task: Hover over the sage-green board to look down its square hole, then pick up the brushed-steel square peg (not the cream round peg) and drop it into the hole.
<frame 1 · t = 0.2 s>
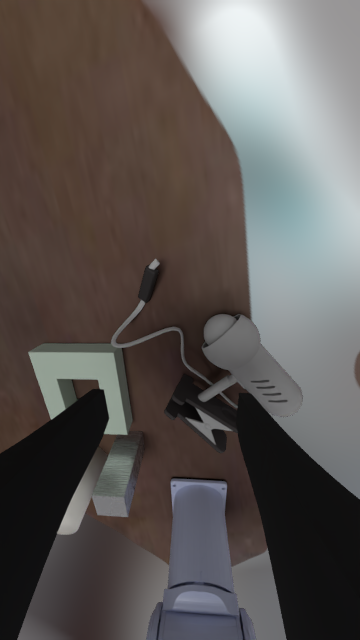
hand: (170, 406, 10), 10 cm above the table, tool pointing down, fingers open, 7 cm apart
clip-on lamp: (196, 345, 20), on the table
cream round peg: (90, 455, 26), on the table
socket board: (90, 384, 22), on the table
steel square peg: (132, 439, 25), on the table
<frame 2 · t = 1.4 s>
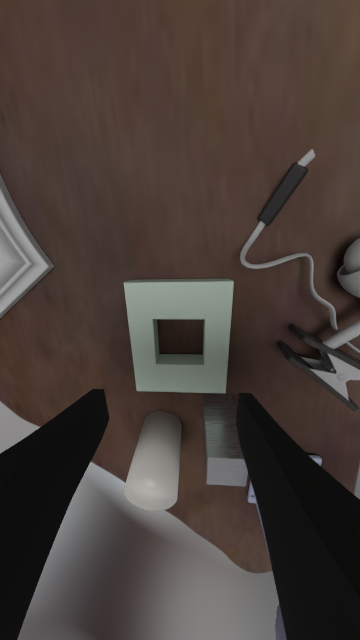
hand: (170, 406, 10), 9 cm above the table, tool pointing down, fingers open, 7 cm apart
clip-on lamp: (312, 286, 17), on the table
cream round peg: (162, 425, 23), on the table
socket board: (180, 334, 19), on the table
steel square peg: (216, 405, 21), on the table
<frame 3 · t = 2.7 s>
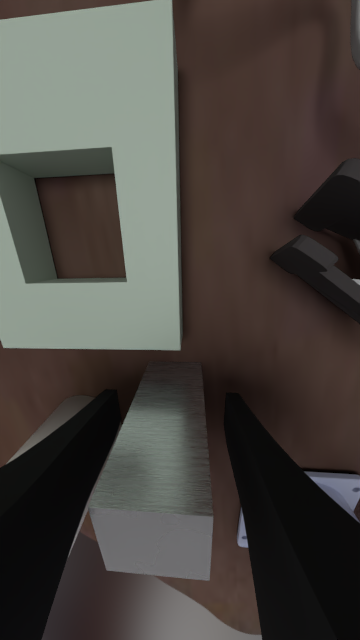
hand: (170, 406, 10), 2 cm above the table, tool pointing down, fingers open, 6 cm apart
clip-on lamp: (348, 111, 7), on the table
cream round peg: (89, 420, 13), on the table, touching gripper
socket board: (90, 230, 9), on the table
steel square peg: (175, 383, 12), on the table
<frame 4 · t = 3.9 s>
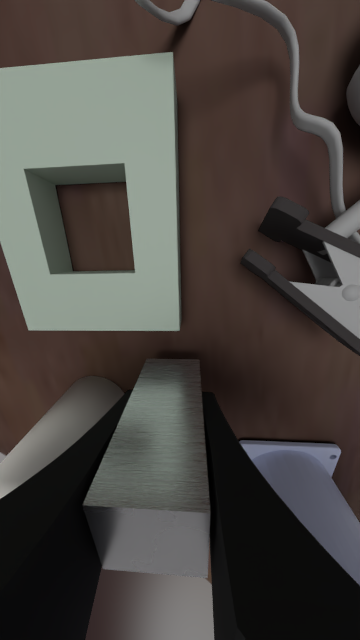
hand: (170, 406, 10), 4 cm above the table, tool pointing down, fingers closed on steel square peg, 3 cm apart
clip-on lamp: (299, 147, 9), on the table
cream round peg: (98, 400, 15), on the table
socket board: (102, 230, 11), on the table
steel square peg: (173, 381, 12), point 2 cm above the table, touching gripper
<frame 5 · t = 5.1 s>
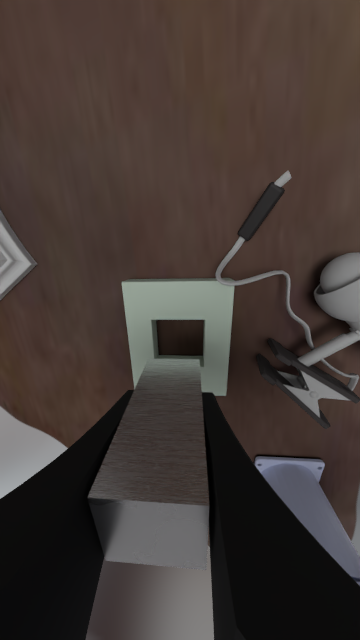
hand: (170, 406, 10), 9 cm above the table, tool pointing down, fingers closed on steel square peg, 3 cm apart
clip-on lamp: (291, 302, 17), on the table
socket board: (180, 335, 18), on the table
steel square peg: (174, 380, 12), point 7 cm above the table, touching gripper
when the fingers open (3 cm above the table, at t = 6.9 s): steel square peg stays where it is, resting in socket board.
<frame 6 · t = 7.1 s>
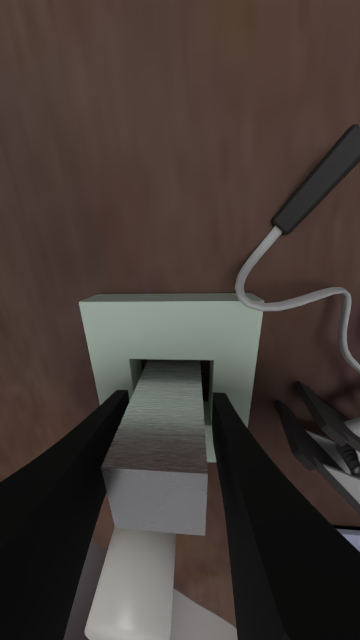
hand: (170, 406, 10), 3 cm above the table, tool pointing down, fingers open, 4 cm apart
clip-on lamp: (336, 332, 11), on the table
cream round peg: (152, 489, 17), on the table
socket board: (175, 373, 12), on the table
steel square peg: (175, 373, 13), resting in socket board
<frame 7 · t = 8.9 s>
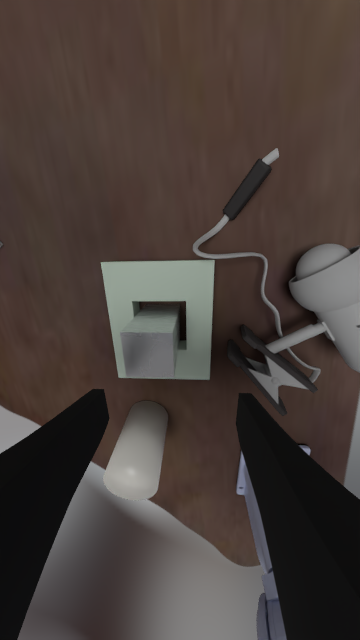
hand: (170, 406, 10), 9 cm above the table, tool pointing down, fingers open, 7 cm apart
clip-on lamp: (268, 290, 17), on the table
cream round peg: (148, 416, 22), on the table
socket board: (163, 319, 18), on the table
steel square peg: (164, 319, 18), resting in socket board
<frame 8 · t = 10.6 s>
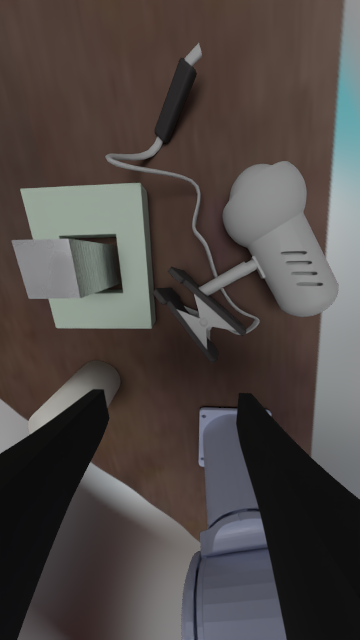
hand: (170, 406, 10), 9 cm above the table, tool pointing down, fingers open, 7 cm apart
clip-on lamp: (209, 233, 16), on the table
cream round peg: (100, 378, 21), on the table
socket board: (103, 264, 17), on the table
steel square peg: (104, 265, 17), resting in socket board
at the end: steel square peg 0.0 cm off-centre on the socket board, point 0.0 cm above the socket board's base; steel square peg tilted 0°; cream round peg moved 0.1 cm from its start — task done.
